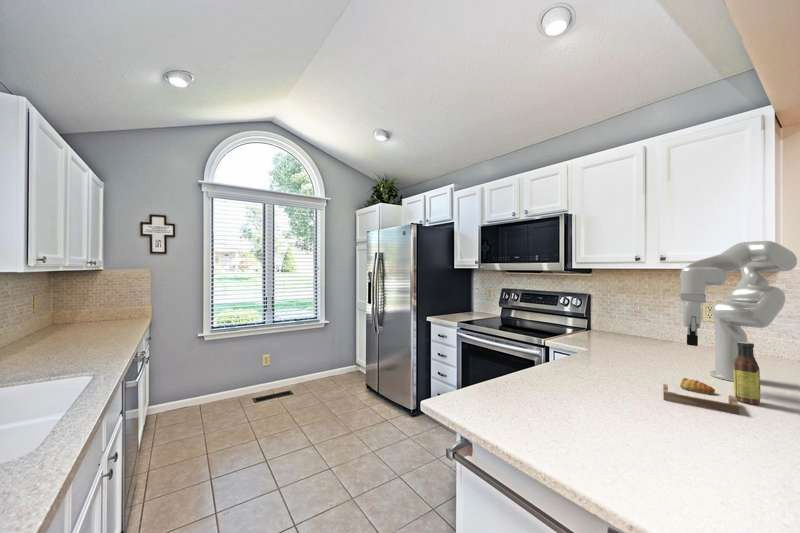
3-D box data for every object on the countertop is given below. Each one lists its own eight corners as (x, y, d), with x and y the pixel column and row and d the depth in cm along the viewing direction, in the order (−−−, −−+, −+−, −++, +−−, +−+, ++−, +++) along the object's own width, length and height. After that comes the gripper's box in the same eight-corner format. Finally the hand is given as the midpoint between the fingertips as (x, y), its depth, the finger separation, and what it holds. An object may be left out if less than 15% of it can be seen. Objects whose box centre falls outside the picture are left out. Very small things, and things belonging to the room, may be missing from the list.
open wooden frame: (663, 390, 123) (663, 383, 123) (733, 403, 112) (733, 396, 112) (663, 399, 114) (663, 392, 115) (739, 414, 103) (739, 406, 103)
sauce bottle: (766, 406, 110) (766, 345, 110) (743, 404, 111) (743, 344, 112) (749, 398, 117) (749, 341, 117) (728, 397, 118) (728, 340, 118)
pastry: (717, 393, 122) (717, 382, 122) (711, 397, 118) (711, 386, 118) (684, 385, 130) (684, 375, 130) (678, 389, 126) (678, 378, 126)
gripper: (679, 297, 141) (678, 341, 141) (681, 298, 129) (680, 346, 129) (703, 298, 137) (703, 343, 136) (707, 300, 125) (707, 349, 125)
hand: (692, 345), depth 133 cm, fingers closed
